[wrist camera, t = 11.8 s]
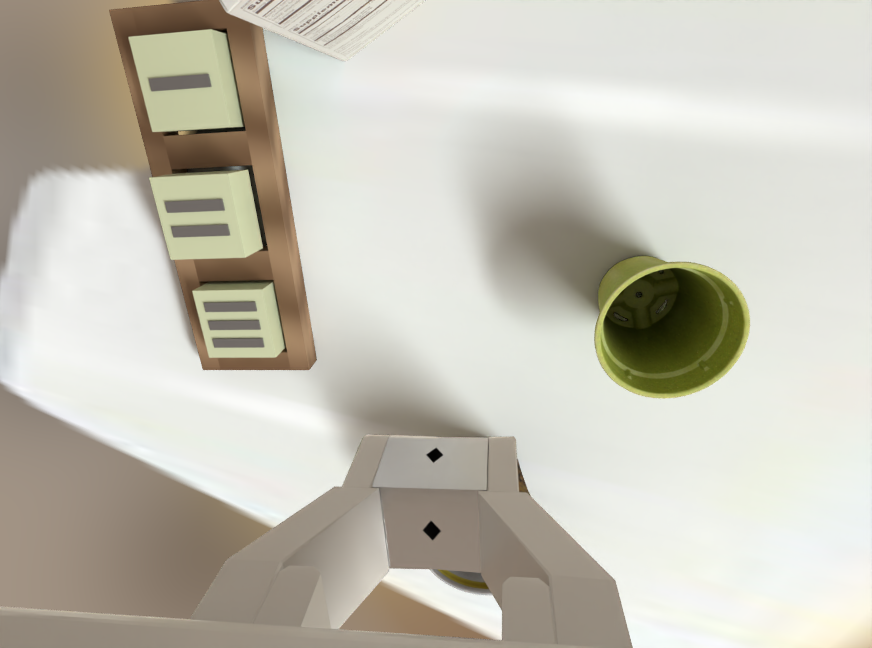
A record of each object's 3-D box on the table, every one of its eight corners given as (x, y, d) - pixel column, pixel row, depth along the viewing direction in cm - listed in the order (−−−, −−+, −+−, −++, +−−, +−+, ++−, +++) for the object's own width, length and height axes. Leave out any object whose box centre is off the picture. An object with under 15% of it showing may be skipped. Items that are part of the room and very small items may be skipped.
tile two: (174, 173, 38) (147, 177, 35) (248, 169, 37) (227, 173, 34) (193, 250, 40) (169, 260, 37) (263, 248, 39) (244, 258, 37)
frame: (128, 15, 36) (109, 9, 34) (258, 2, 35) (244, -4, 33) (214, 360, 47) (203, 369, 45) (316, 359, 45) (309, 369, 43)
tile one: (156, 43, 36) (126, 36, 33) (233, 36, 35) (210, 28, 32) (177, 131, 38) (151, 132, 35) (250, 126, 38) (229, 126, 35)
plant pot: (553, 314, 41) (567, 361, 33) (618, 212, 38) (651, 236, 30) (651, 363, 42) (687, 420, 34) (724, 267, 38) (784, 306, 30)
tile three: (211, 279, 43) (191, 291, 40) (277, 278, 42) (261, 289, 39) (226, 343, 45) (208, 358, 42) (289, 342, 44) (275, 358, 41)
